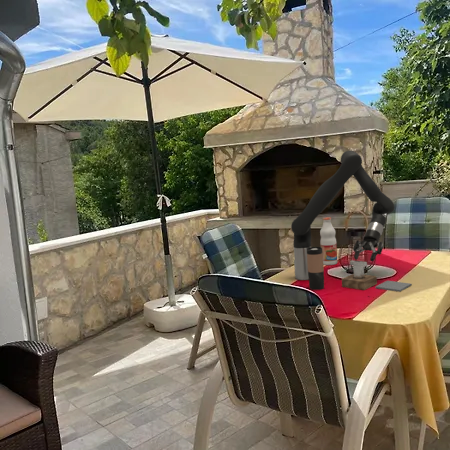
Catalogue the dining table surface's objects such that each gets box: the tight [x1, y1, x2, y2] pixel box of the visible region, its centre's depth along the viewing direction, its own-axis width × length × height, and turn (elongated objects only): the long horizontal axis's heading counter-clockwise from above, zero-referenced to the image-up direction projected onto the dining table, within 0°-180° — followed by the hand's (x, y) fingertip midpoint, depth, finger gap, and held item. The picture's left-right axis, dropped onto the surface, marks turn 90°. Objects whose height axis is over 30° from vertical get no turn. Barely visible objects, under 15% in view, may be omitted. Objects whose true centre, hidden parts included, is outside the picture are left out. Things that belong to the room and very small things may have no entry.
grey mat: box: [374, 280, 413, 293], centre depth 208 cm, size 12×12×1 cm
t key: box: [349, 260, 368, 279], centre depth 214 cm, size 8×4×12 cm, turn 43°
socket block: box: [341, 273, 378, 291], centre depth 215 cm, size 12×12×4 cm
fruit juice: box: [319, 216, 338, 266], centre depth 264 cm, size 9×9×28 cm
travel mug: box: [307, 246, 325, 291], centre depth 216 cm, size 8×8×20 cm
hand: (363, 259), depth 217 cm, fingers open, 8 cm apart
